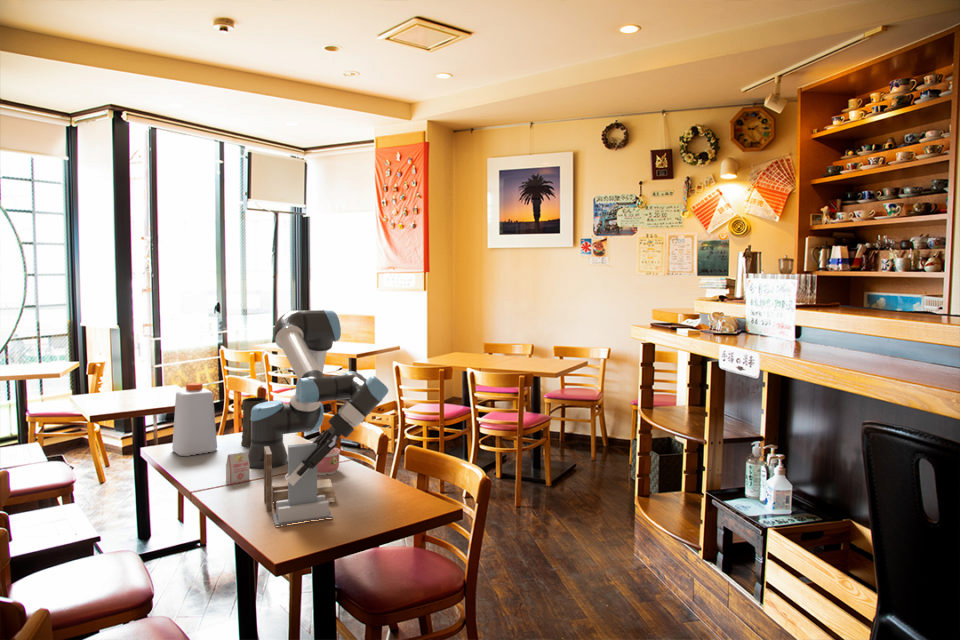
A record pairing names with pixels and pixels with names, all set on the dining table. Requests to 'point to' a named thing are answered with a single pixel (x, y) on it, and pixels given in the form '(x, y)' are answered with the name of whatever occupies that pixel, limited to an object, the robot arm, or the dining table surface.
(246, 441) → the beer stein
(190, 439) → the plastic bottle
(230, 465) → the tea bag
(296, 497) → the slate board
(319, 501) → the slot stand
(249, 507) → the dining table surface
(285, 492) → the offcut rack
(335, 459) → the container
